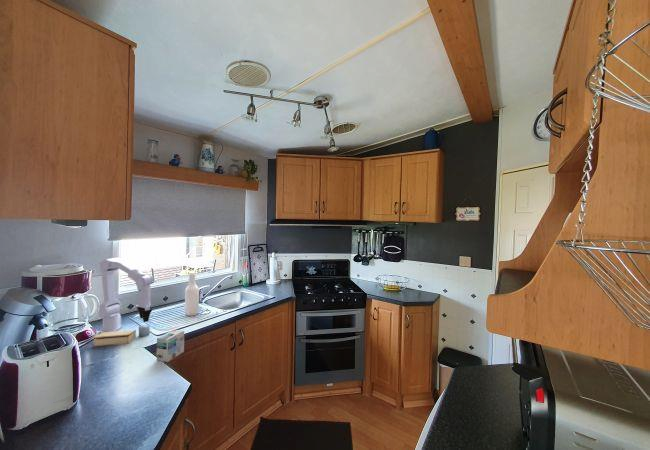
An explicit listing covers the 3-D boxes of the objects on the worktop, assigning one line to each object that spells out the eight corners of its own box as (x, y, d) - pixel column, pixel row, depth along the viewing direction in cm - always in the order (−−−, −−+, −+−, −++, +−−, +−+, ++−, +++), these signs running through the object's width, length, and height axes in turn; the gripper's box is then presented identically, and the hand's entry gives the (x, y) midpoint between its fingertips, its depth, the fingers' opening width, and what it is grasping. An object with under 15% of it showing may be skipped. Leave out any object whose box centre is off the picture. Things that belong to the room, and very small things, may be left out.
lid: (102, 333, 141) (102, 332, 141) (135, 330, 144) (135, 329, 145) (93, 338, 133) (93, 337, 133) (128, 335, 137) (128, 334, 137)
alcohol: (193, 311, 187) (193, 270, 187) (201, 312, 184) (201, 271, 183) (182, 314, 179) (182, 272, 179) (190, 316, 176) (190, 274, 175)
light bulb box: (167, 362, 119) (167, 339, 118) (155, 360, 120) (155, 338, 120) (184, 351, 129) (184, 330, 129) (173, 349, 130) (173, 329, 130)
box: (102, 339, 141) (102, 333, 141) (135, 336, 145) (135, 330, 144) (93, 346, 133) (93, 339, 133) (128, 343, 137) (128, 336, 137)
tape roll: (141, 333, 149) (141, 325, 149) (151, 332, 150) (151, 324, 150) (136, 337, 144) (136, 328, 144) (147, 336, 145) (147, 327, 145)
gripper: (133, 295, 149) (133, 318, 149) (138, 300, 139) (138, 325, 139) (147, 293, 154) (147, 315, 154) (153, 297, 144) (153, 321, 145)
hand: (144, 319), depth 147 cm, fingers open, 7 cm apart
